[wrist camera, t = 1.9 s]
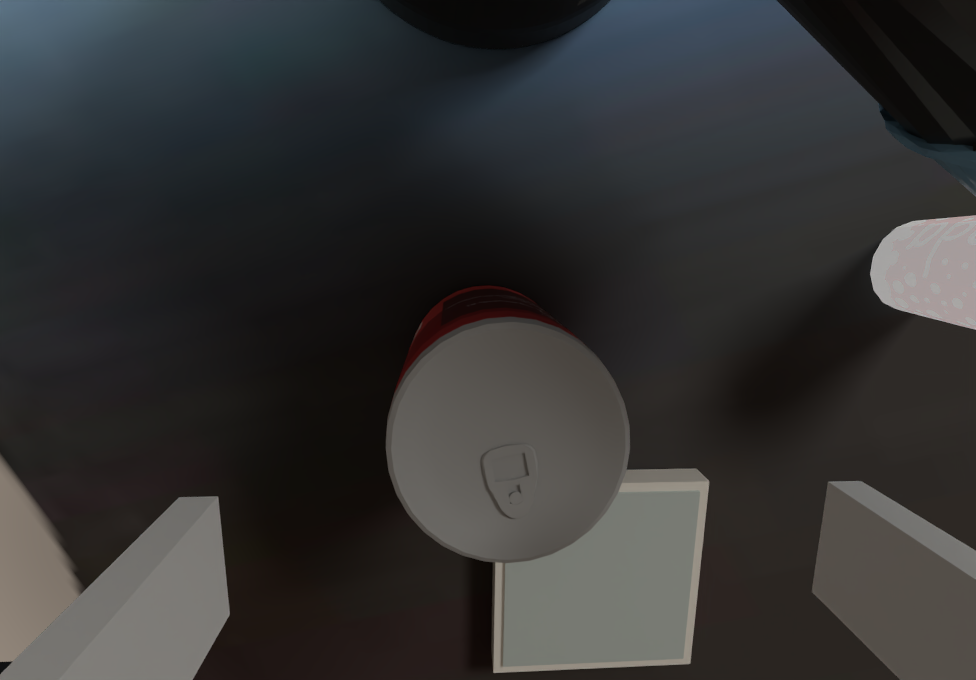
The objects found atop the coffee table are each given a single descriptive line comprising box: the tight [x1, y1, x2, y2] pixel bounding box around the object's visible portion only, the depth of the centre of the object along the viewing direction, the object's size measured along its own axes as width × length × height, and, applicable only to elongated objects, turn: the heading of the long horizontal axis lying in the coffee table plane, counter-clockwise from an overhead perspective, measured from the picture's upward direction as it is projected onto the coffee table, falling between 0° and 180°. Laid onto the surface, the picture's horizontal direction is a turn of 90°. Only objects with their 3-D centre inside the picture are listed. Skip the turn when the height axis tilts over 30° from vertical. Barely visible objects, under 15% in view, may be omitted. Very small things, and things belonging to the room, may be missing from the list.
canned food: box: [386, 285, 630, 563], centre depth 22 cm, size 8×8×11 cm
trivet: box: [491, 469, 709, 673], centre depth 29 cm, size 11×11×2 cm
